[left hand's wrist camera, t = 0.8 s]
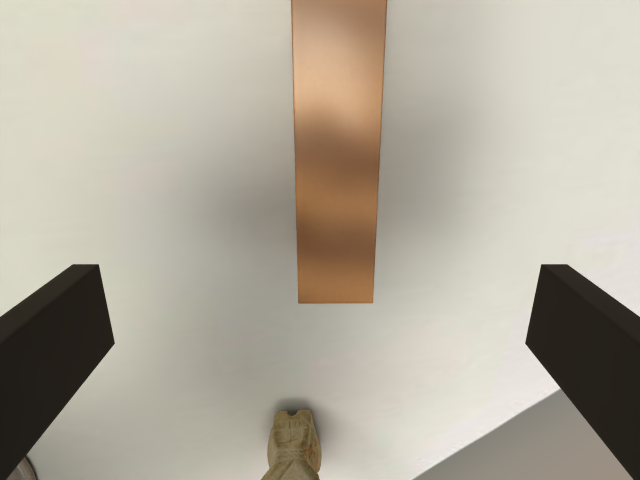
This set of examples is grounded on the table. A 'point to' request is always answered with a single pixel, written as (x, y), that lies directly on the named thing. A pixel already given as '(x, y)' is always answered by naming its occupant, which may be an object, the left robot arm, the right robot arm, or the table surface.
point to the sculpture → (293, 448)
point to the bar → (337, 145)
